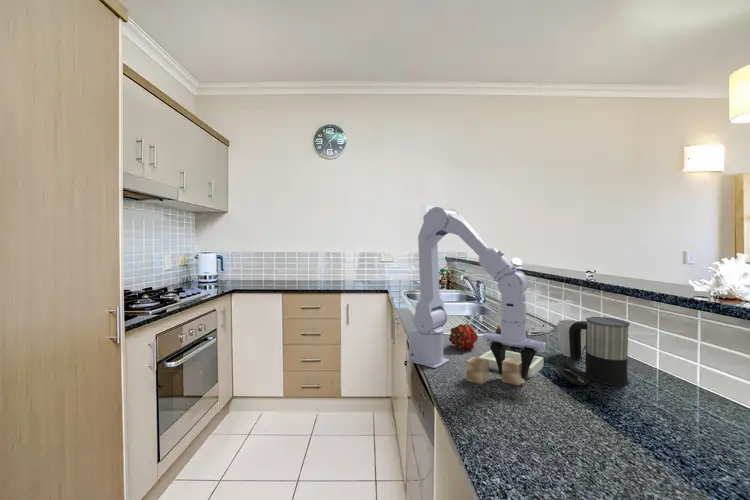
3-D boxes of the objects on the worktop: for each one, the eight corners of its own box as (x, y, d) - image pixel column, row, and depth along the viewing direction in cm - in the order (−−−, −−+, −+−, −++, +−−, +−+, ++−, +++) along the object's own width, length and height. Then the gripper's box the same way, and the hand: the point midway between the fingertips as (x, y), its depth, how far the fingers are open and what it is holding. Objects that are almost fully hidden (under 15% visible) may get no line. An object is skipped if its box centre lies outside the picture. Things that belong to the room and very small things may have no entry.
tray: (478, 366, 98) (478, 357, 98) (493, 356, 107) (493, 348, 107) (531, 378, 89) (531, 368, 89) (543, 366, 98) (543, 357, 98)
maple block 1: (466, 380, 88) (466, 360, 88) (473, 376, 91) (473, 356, 91) (482, 384, 86) (482, 364, 85) (488, 379, 89) (488, 360, 88)
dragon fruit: (454, 357, 110) (466, 353, 120) (476, 344, 107) (487, 341, 117) (440, 333, 114) (453, 331, 124) (461, 319, 110) (473, 318, 120)
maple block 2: (502, 381, 87) (502, 361, 87) (507, 376, 90) (507, 357, 90) (518, 385, 85) (518, 365, 85) (524, 380, 88) (524, 360, 88)
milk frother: (632, 378, 89) (632, 320, 88) (621, 399, 77) (621, 331, 77) (569, 365, 99) (569, 312, 98) (551, 382, 87) (551, 322, 87)
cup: (592, 360, 102) (592, 326, 102) (561, 359, 104) (561, 325, 104) (581, 352, 110) (582, 320, 110) (553, 350, 112) (553, 319, 111)
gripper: (549, 321, 86) (549, 377, 86) (490, 314, 95) (490, 364, 95) (541, 327, 80) (540, 386, 81) (480, 318, 90) (479, 371, 90)
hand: (513, 375), depth 88 cm, fingers open, 5 cm apart
